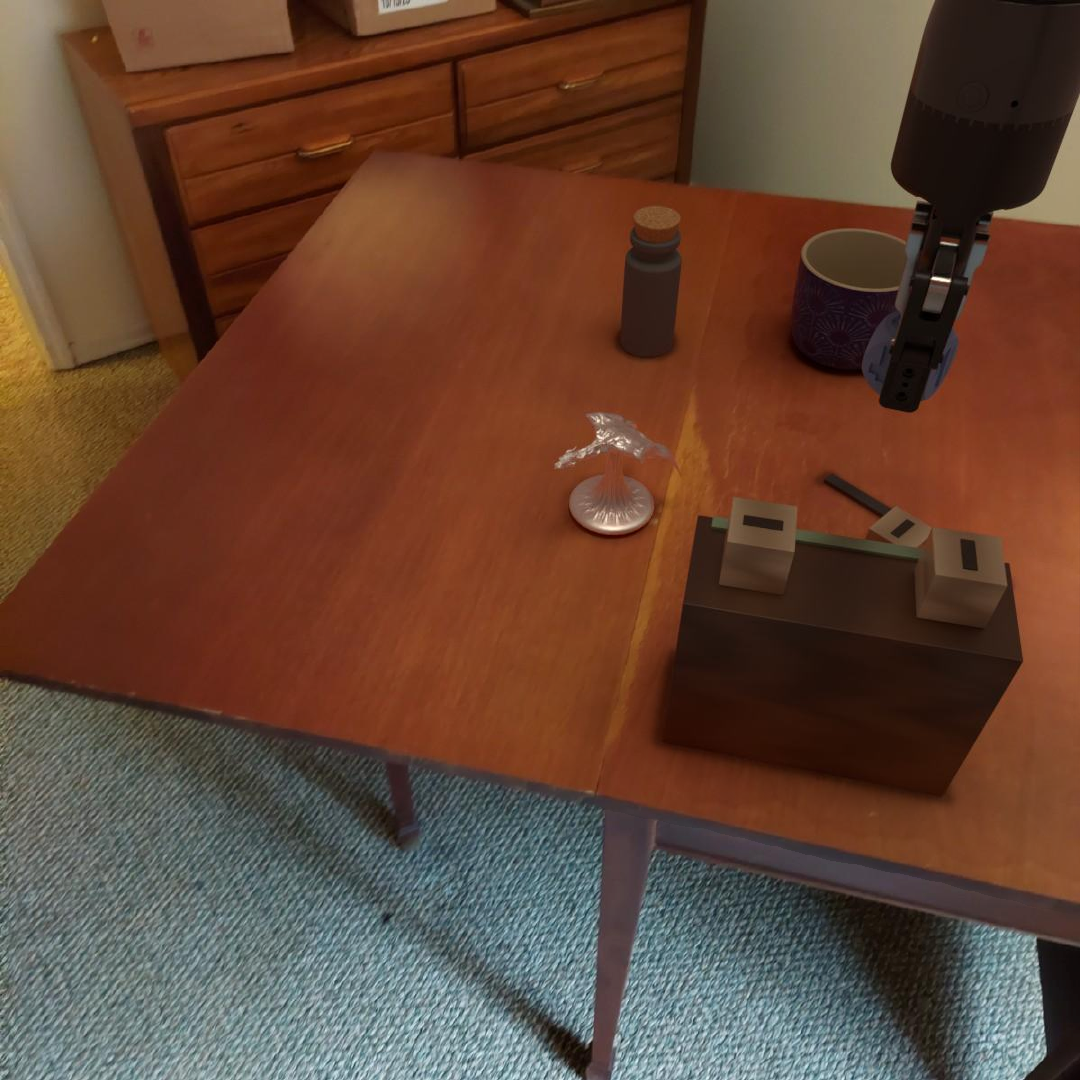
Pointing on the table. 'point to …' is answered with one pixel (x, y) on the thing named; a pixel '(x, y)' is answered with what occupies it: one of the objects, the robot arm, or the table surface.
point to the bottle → (651, 282)
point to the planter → (844, 293)
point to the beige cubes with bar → (885, 518)
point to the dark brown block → (841, 648)
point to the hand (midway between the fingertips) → (903, 378)
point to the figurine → (613, 477)
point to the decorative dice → (879, 356)
